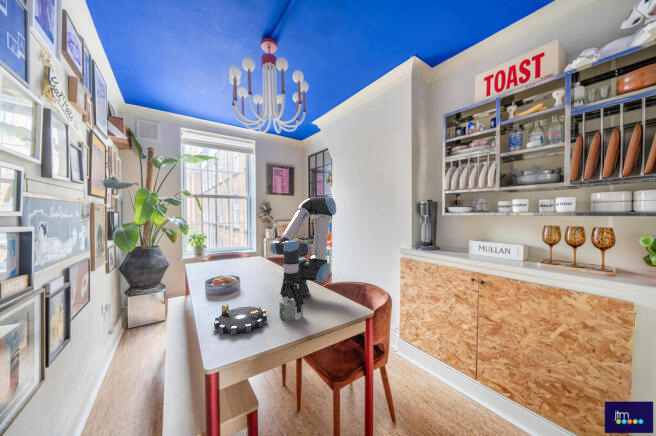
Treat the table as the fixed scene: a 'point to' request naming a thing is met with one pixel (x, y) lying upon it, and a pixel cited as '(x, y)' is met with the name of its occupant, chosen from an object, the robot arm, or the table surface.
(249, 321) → the sprocket wheel
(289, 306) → the link block
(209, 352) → the table surface
